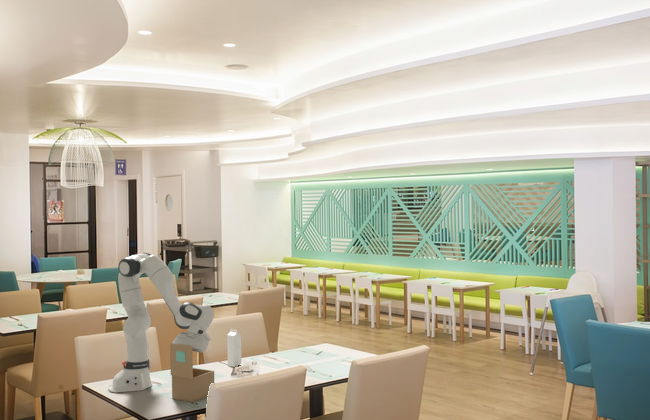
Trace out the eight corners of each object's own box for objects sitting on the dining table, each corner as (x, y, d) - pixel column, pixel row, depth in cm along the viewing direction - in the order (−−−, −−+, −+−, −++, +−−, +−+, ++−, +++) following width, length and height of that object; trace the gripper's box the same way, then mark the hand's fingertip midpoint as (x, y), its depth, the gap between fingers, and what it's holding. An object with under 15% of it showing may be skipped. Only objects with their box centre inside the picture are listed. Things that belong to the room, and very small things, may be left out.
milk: (234, 364, 398) (234, 328, 398) (241, 365, 394) (241, 329, 395) (227, 366, 393) (226, 329, 393) (234, 367, 390) (234, 330, 390)
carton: (193, 402, 319) (192, 378, 319) (172, 398, 327) (171, 374, 327) (214, 394, 333) (214, 370, 333) (194, 390, 340) (193, 367, 340)
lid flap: (192, 378, 319) (191, 378, 319) (171, 374, 327) (170, 375, 326) (192, 345, 319) (191, 346, 318) (170, 343, 327) (169, 343, 326)
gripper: (177, 328, 335) (163, 351, 327) (207, 332, 325) (194, 355, 316) (183, 335, 339) (170, 358, 331) (213, 339, 328) (200, 362, 320)
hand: (182, 357), depth 323 cm, fingers closed, pressing on lid flap
